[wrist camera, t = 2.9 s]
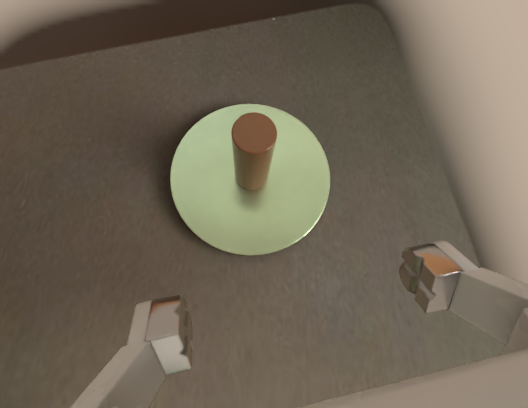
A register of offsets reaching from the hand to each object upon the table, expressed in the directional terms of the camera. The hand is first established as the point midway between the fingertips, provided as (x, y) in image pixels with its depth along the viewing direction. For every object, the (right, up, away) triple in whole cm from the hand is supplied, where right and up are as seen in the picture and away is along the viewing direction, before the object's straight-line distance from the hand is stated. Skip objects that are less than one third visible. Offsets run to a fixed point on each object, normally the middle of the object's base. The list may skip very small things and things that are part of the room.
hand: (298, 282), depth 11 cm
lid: (-2, +5, +12) cm, 13 cm away
